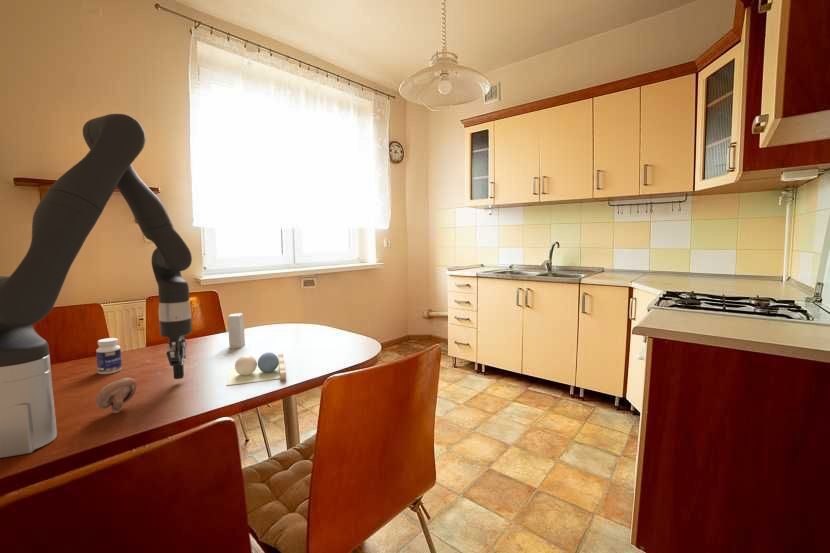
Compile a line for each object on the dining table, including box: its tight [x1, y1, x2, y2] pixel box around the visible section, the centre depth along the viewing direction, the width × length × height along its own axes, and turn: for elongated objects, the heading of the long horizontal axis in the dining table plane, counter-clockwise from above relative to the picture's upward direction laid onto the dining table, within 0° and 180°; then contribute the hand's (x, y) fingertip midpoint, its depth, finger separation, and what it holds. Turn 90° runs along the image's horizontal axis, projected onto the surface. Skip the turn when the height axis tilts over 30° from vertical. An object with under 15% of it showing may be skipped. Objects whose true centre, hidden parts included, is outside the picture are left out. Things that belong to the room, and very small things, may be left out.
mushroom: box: [95, 377, 138, 414], centre depth 85 cm, size 8×6×8 cm
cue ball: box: [234, 354, 258, 376], centre depth 109 cm, size 6×6×6 cm
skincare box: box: [227, 312, 246, 349], centre depth 139 cm, size 6×4×12 cm
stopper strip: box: [277, 353, 287, 382], centre depth 113 cm, size 18×2×2 cm, turn 22°
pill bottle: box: [95, 337, 123, 375], centre depth 111 cm, size 6×6×10 cm
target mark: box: [226, 364, 280, 387], centre depth 110 cm, size 14×14×1 cm
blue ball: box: [257, 352, 279, 373], centre depth 112 cm, size 6×6×6 cm
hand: (179, 377), depth 103 cm, fingers closed
